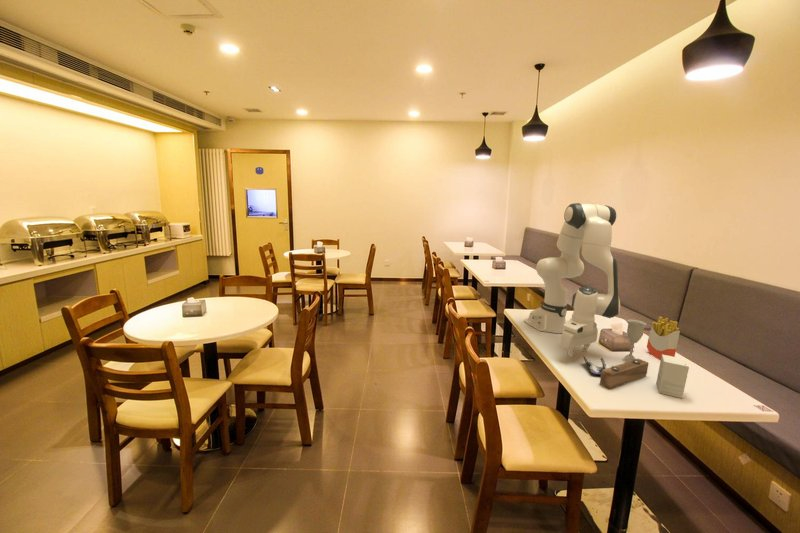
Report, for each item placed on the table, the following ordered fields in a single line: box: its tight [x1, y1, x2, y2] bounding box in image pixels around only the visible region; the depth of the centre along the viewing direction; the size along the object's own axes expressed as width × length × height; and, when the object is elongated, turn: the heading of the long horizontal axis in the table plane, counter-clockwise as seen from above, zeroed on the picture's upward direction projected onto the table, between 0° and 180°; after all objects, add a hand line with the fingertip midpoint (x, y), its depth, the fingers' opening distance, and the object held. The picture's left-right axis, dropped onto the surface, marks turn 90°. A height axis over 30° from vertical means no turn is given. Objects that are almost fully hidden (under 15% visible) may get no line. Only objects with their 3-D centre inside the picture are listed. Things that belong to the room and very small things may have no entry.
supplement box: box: [655, 354, 690, 399], centre depth 131 cm, size 7×7×13 cm
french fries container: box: [646, 316, 681, 361], centre depth 160 cm, size 5×11×18 cm, turn 5°
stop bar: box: [599, 358, 650, 390], centre depth 138 cm, size 4×24×7 cm, turn 118°
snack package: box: [583, 356, 607, 376], centre depth 145 cm, size 12×6×12 cm
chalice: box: [622, 319, 647, 363], centre depth 154 cm, size 7×7×18 cm
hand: (577, 353), depth 156 cm, fingers open, 8 cm apart
